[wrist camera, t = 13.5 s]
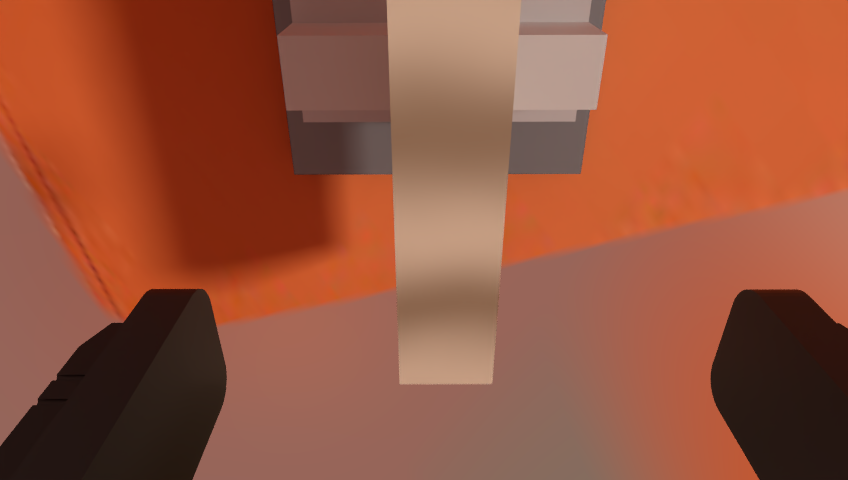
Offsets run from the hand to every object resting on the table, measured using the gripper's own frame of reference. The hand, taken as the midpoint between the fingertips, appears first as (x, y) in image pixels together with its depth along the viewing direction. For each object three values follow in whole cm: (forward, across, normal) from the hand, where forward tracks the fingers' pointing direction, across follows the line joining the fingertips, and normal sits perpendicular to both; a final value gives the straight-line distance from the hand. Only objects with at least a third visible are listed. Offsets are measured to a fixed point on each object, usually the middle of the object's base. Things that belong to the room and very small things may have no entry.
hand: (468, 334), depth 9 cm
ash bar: (+16, 0, 0) cm, 16 cm away
